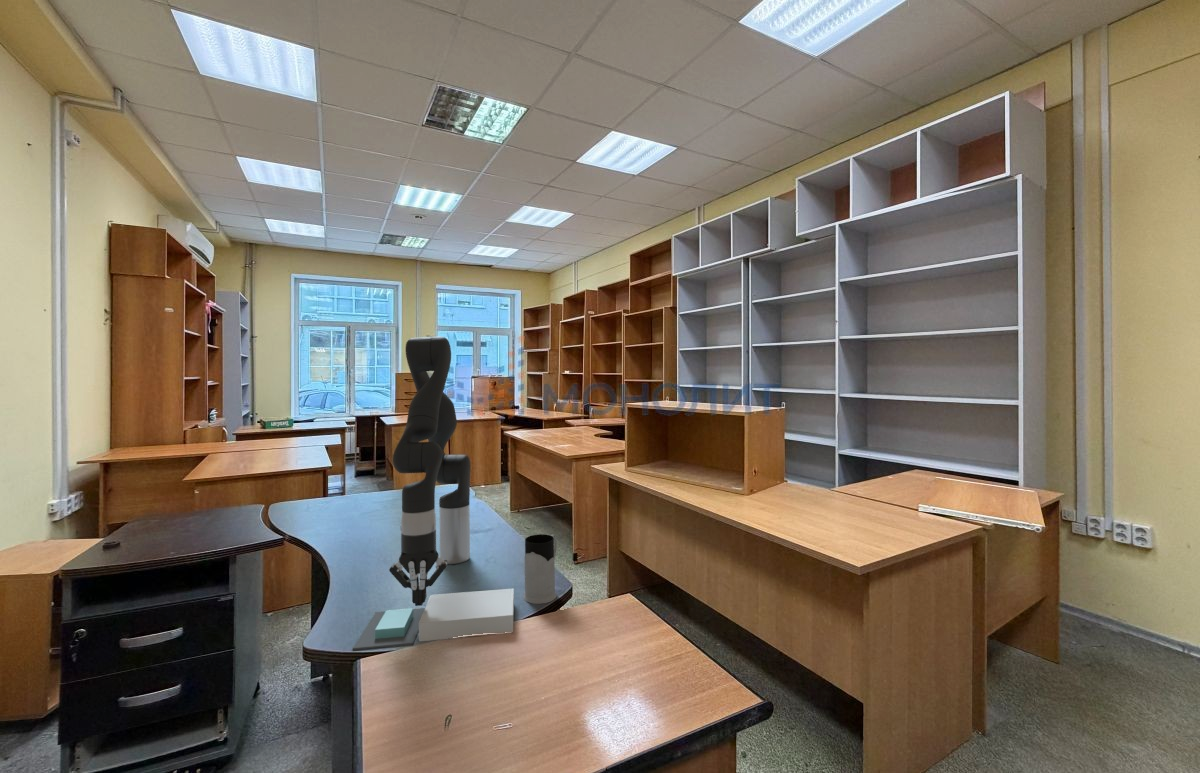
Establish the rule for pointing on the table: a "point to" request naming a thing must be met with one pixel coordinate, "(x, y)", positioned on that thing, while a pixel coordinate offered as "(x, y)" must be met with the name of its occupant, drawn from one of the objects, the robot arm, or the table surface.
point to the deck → (467, 614)
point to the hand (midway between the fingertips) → (419, 604)
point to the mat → (369, 640)
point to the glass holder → (540, 568)
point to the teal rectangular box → (394, 623)
